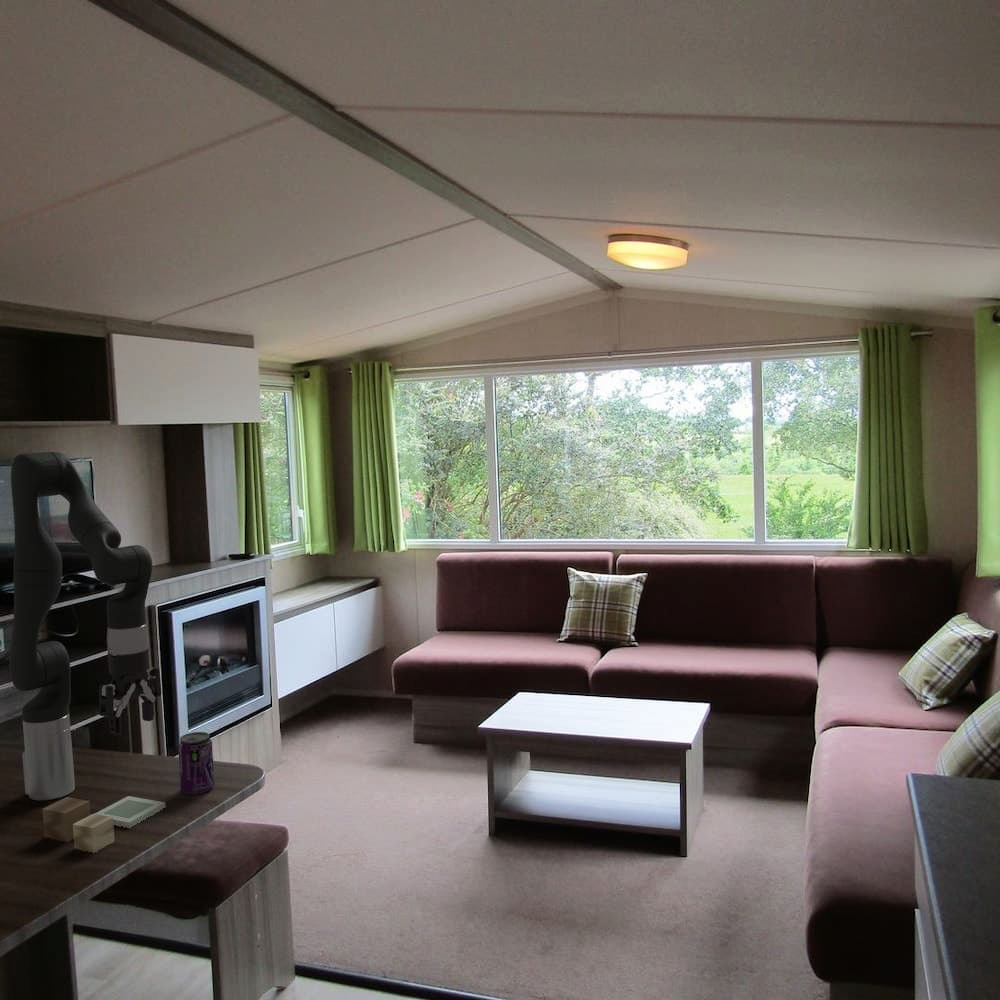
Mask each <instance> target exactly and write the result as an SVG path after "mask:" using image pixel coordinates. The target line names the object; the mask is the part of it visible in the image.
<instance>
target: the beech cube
mask: <svg viewBox="0 0 1000 1000" xmlns="http://www.w3.org/2000/svg"><path fill="white" fill-rule="evenodd" d="M73 834H74V839H73V843H74V849H75V848H77V849H81V850H84V851H83V852H86V851H88V852H87V853H91V852H92V853H91V854H95V852H96V853H98V852H99V851H101V850H103V849H105V848H106V847H108V846H110V845H112V844H113V843H115V842H114V841H115V828H114V825H113V817H109V816H103V815H98V814H95V813H92V814H91V815H90V816H88V817H86V818H84V819H82V820H80V821H78V822H76V823H74V824H73ZM109 844H110V845H109ZM107 845H108V846H107ZM105 846H106V847H105ZM102 848H103V849H102ZM77 849H76V850H77ZM100 849H101V850H100ZM81 850H80V851H81ZM98 850H99V851H98Z"/></svg>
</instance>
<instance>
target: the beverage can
mask: <svg viewBox="0 0 1000 1000" xmlns="http://www.w3.org/2000/svg"><path fill="white" fill-rule="evenodd" d="M177 751H178V752H177V753H178V765H179V767H178V768H179V782H180V783H179V784H180V790H181V791H182V792H183V793H187V794H188V793H189V795H199V794H198V793H200V794H204V793H206V792H208V791H209V790H211V789H212V788H214V787H215V783H216V782H215V771H214V770H215V769H214V766H215V765H214V755H213V754H214V753H213V741H212V740H211V738H210V734H209V733H208V732H205V731H204V732H203V731H195V732H194V731H193V732H189V733H185V734H184V735H182V736H180V737H179V743H178V746H177ZM203 792H204V793H203Z"/></svg>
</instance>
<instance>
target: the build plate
mask: <svg viewBox="0 0 1000 1000" xmlns="http://www.w3.org/2000/svg"><path fill="white" fill-rule="evenodd" d="M163 808H165V809H166V801H165V802H163V801H158V800H152V799H147V798H140V797H135V796H130V795H127V796H126V797H123V798H122V799H120V800H118V801H116V802H115V803H112V804H110V805H109V806H107V807H105V808H103V809H101V810H99V811H97V812H95V813H94V814H98V815H103V816H109V817H113V826H115V825H116V826H117V827H121V826H123V827H122V828H126V827H127V829H131V828H133V827H135V826H136V825H138V824H139V823H142V822H144V821H146V820H147V819H149V818H150V816H151V817H152V816H154V815H156V814H157V812H158V813H160V812H161V811H163V810H164V809H163ZM162 809H163V810H162ZM160 810H161V811H160ZM155 813H156V814H155ZM148 817H149V818H148ZM146 818H147V819H146ZM143 820H144V821H143ZM141 821H142V822H141ZM137 823H138V824H137ZM134 825H135V826H134ZM132 826H133V827H132Z"/></svg>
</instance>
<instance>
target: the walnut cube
mask: <svg viewBox="0 0 1000 1000" xmlns="http://www.w3.org/2000/svg"><path fill="white" fill-rule="evenodd" d="M90 804H91V803H90V800H85V799H80V798H74V797H68V796H66V797H64V798H62V799H60V800H58V801H56V802H53V803H52V804H50V805H48V806H45V807H43V808H42V809H41V810H42V820H43V821H42V822H43V834H44V838H45V837H49V838H52V839H57V840H61V841H65V842H64V843H66V842H68V841H70V842H71V840H72V839H73V840H74V834H73V824H74V823H76V822H78V821H80V820H82V819H84V818H86V817H88V816H90V815H92V814H91V805H90ZM52 839H51V840H52ZM57 840H56V841H57ZM73 840H72V841H73ZM61 841H60V842H61ZM68 843H69V842H68Z"/></svg>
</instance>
